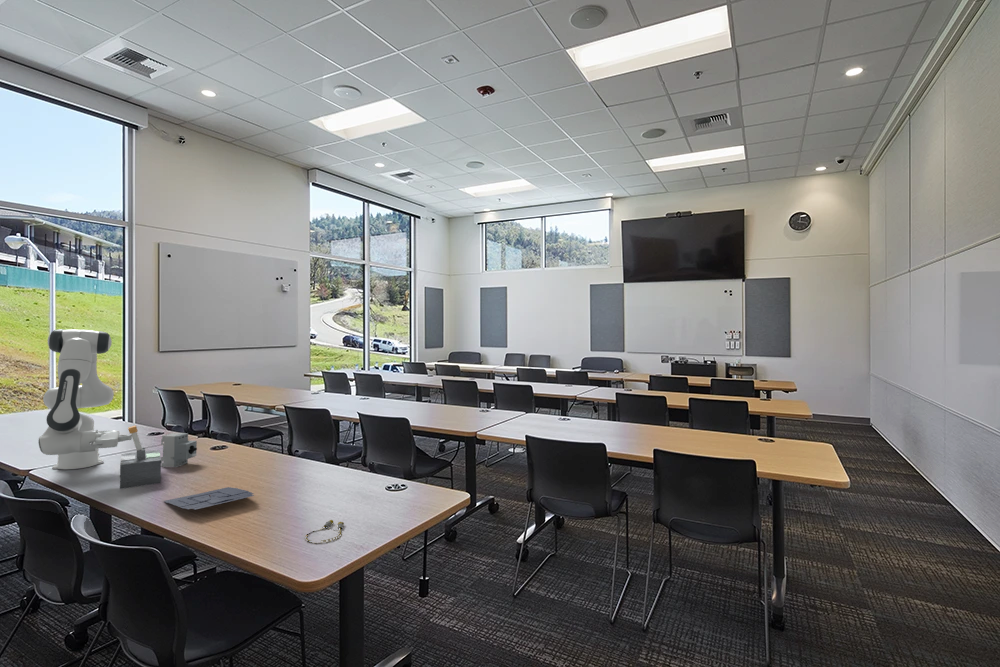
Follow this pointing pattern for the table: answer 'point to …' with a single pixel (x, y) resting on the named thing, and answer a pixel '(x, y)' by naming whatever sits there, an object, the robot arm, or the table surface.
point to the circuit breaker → (177, 449)
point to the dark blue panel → (210, 498)
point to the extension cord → (330, 524)
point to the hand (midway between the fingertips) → (131, 437)
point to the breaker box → (140, 468)
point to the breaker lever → (135, 437)
